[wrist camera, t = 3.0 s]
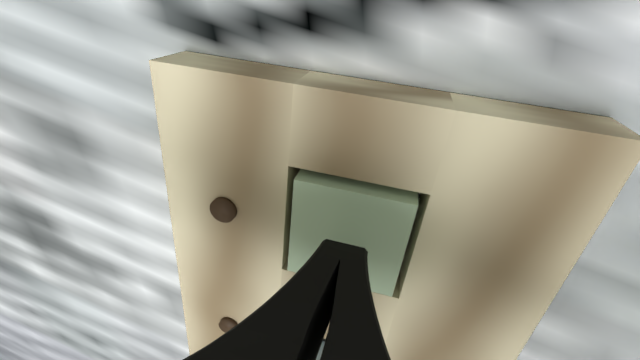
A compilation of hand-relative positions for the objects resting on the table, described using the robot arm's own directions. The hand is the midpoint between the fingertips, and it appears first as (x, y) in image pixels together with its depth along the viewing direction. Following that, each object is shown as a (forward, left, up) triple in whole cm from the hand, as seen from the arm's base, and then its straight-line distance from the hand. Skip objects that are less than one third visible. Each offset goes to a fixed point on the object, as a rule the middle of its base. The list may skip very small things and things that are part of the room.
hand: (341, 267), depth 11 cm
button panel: (0, +8, -4) cm, 9 cm away
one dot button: (0, 0, -3) cm, 3 cm away
